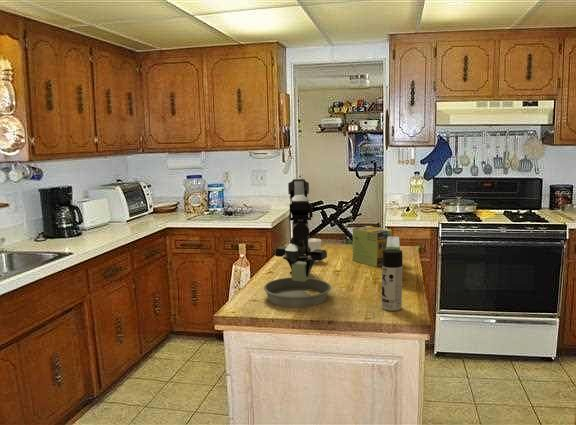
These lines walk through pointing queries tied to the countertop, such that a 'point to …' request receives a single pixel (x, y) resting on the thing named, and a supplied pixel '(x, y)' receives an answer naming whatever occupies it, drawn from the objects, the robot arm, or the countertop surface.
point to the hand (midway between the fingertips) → (301, 275)
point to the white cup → (314, 244)
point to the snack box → (393, 243)
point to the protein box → (370, 244)
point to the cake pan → (296, 292)
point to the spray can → (392, 279)
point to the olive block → (299, 271)
